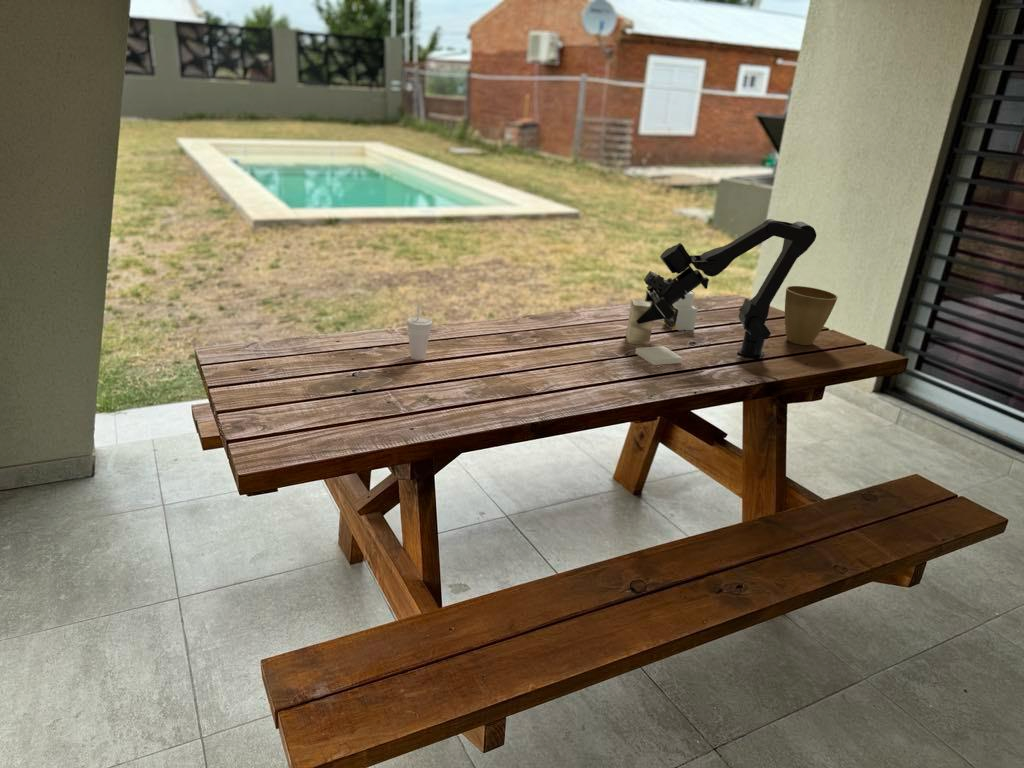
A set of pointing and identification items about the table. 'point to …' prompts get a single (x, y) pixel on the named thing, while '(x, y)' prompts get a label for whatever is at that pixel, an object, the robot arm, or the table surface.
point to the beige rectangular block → (635, 330)
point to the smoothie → (418, 335)
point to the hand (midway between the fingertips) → (636, 319)
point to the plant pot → (806, 313)
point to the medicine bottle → (683, 314)
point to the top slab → (658, 355)
